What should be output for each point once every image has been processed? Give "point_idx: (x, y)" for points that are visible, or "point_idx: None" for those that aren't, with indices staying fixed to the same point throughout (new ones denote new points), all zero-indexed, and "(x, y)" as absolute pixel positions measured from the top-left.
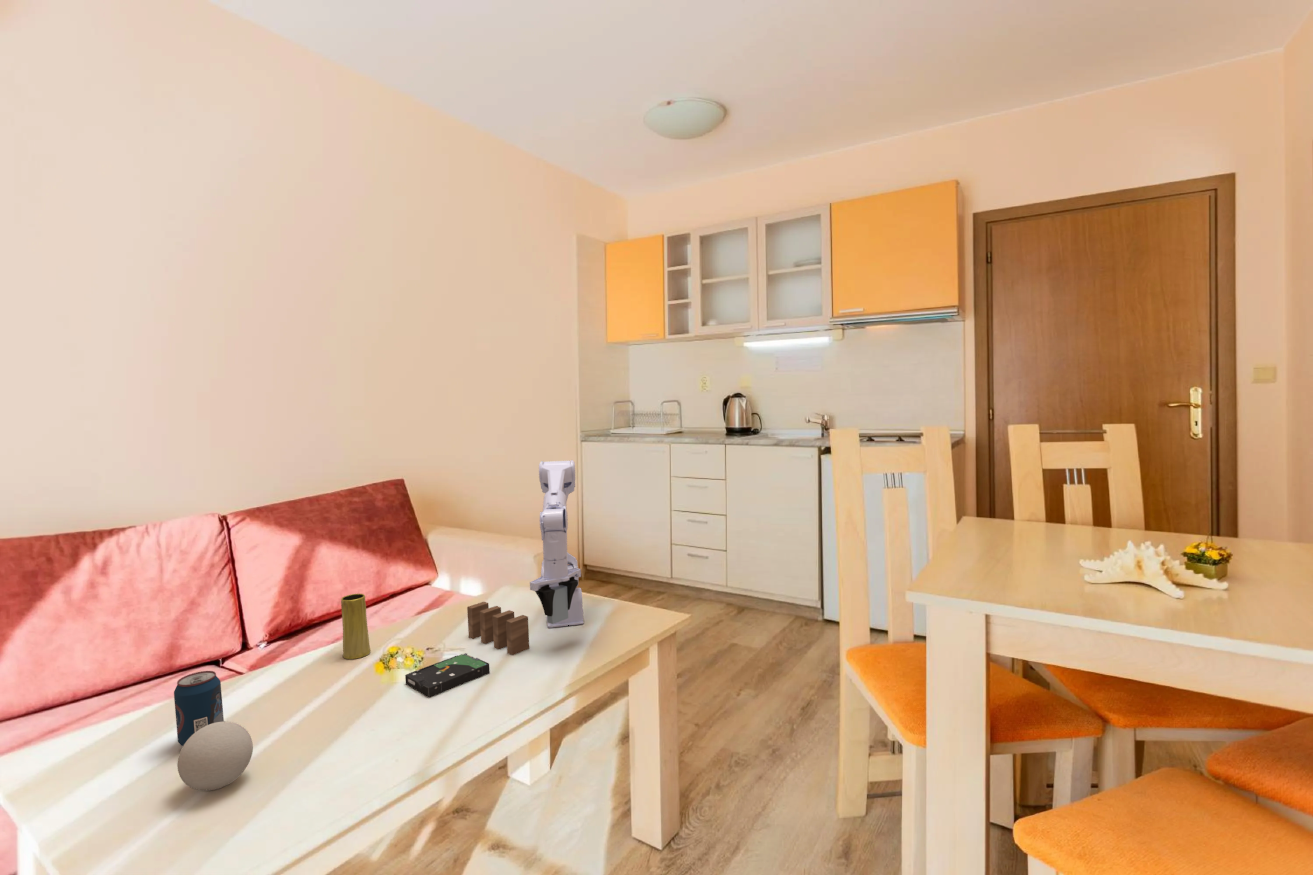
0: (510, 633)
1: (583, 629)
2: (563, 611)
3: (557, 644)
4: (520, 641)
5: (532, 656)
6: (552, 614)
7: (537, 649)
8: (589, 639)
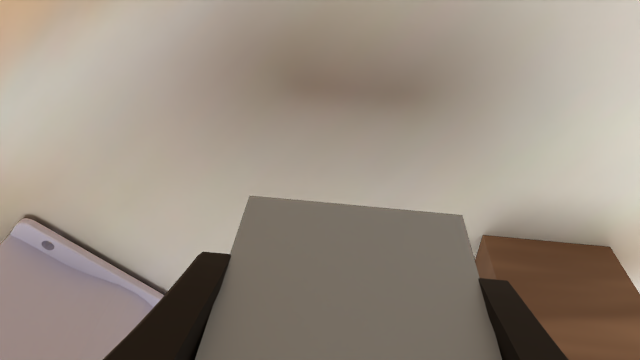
0: None
1: (70, 165)
2: (302, 261)
3: (346, 141)
4: (567, 288)
5: (585, 143)
6: (486, 285)
7: (474, 189)
8: (141, 11)
